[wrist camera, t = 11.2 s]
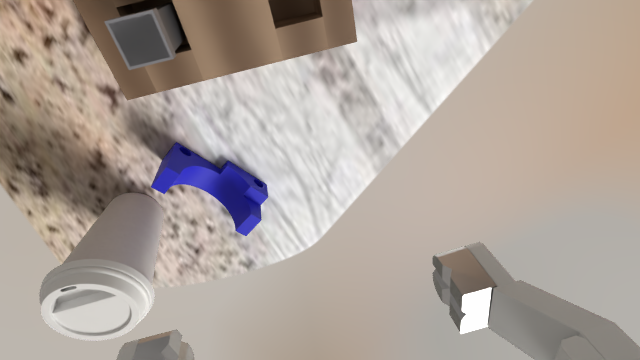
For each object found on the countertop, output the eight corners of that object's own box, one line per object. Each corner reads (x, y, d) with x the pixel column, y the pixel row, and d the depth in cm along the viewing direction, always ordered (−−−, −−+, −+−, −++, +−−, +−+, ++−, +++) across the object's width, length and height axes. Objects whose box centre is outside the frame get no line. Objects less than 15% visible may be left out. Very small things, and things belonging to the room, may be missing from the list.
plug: (175, -1, 31) (152, 9, 24) (190, 37, 33) (173, 58, 26) (138, 7, 31) (104, 21, 23) (155, 46, 33) (129, 70, 25)
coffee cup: (175, 184, 42) (146, 276, 30) (177, 242, 47) (152, 343, 34) (88, 179, 40) (15, 277, 27) (99, 241, 45) (42, 348, 32)
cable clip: (266, 184, 45) (269, 211, 40) (246, 206, 46) (246, 236, 41) (183, 132, 39) (174, 156, 34) (162, 159, 40) (150, 187, 35)
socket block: (327, -83, 31) (340, -91, 26) (344, 32, 36) (358, 42, 32) (85, -26, 30) (57, -24, 25) (141, 84, 35) (126, 101, 31)
